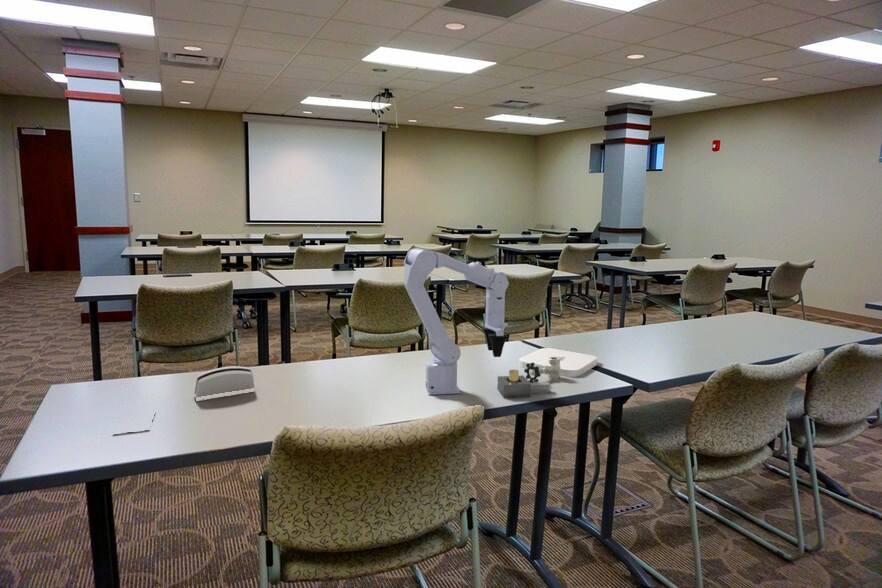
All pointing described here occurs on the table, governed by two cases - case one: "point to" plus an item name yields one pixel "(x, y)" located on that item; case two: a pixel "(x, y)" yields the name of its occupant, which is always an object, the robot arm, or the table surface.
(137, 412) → the table surface
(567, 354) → the computer
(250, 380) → the grey rounded block
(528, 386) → the grey socket block
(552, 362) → the valve
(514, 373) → the brass pin
